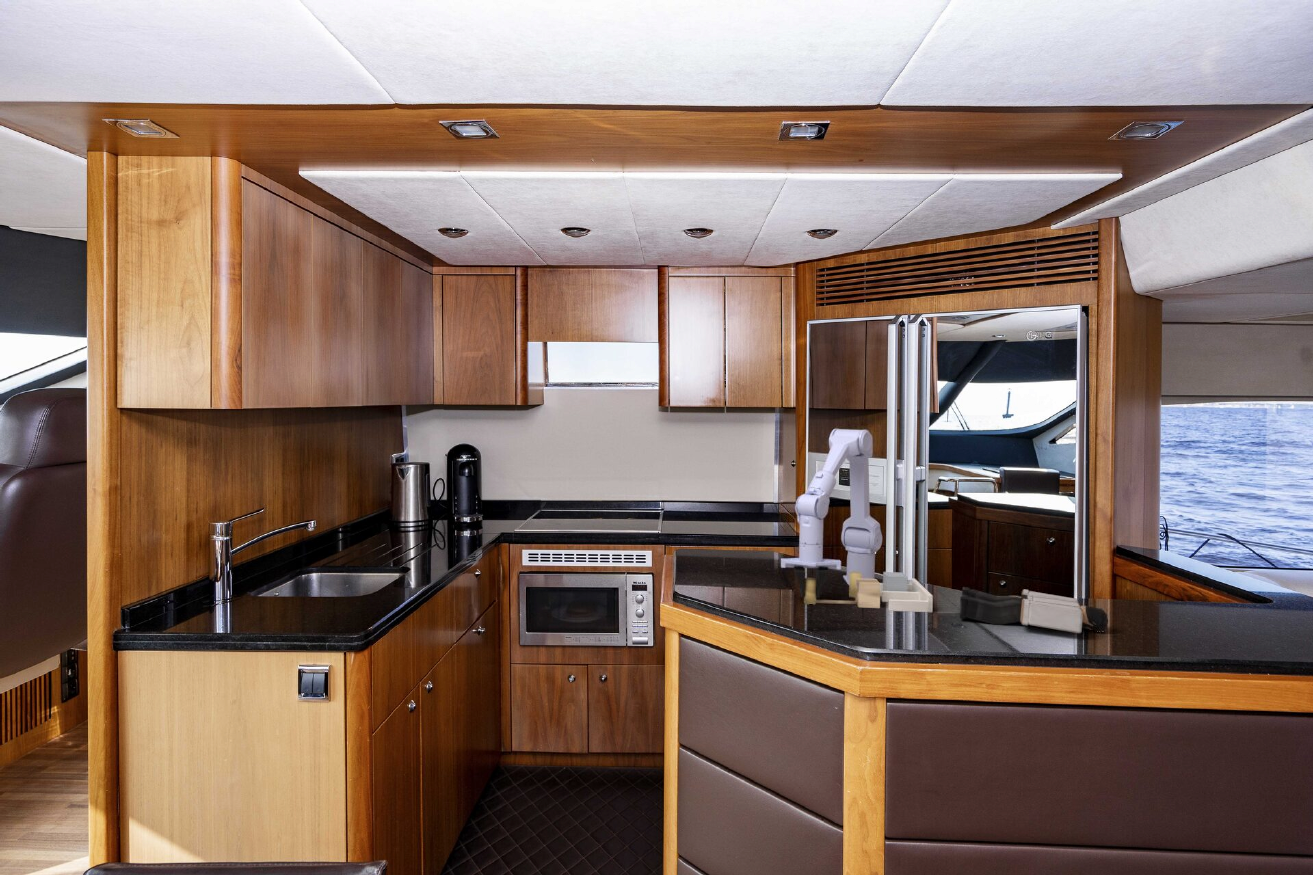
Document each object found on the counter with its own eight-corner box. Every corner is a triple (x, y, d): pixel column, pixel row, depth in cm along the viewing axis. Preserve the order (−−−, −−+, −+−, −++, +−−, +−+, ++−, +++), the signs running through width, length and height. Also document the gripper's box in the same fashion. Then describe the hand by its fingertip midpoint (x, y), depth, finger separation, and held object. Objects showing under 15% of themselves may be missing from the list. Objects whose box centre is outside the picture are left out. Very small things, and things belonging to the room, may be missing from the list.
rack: (875, 592, 192) (875, 577, 192) (914, 593, 191) (914, 578, 191) (889, 610, 175) (889, 594, 175) (932, 612, 174) (932, 595, 174)
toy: (957, 623, 165) (1113, 646, 151) (959, 592, 165) (1114, 612, 151) (963, 607, 182) (1103, 627, 168) (964, 579, 182) (1104, 597, 168)
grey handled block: (847, 593, 191) (848, 570, 191) (902, 595, 190) (903, 572, 189) (850, 598, 186) (851, 575, 186) (906, 600, 185) (907, 576, 184)
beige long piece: (802, 600, 184) (803, 576, 184) (875, 602, 182) (876, 578, 182) (804, 605, 179) (805, 581, 179) (879, 607, 178) (880, 583, 177)
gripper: (782, 544, 178) (781, 599, 178) (843, 546, 176) (842, 601, 177) (780, 539, 185) (779, 592, 185) (838, 540, 183) (837, 594, 184)
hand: (810, 596), depth 182 cm, fingers closed on beige long piece, 3 cm apart
